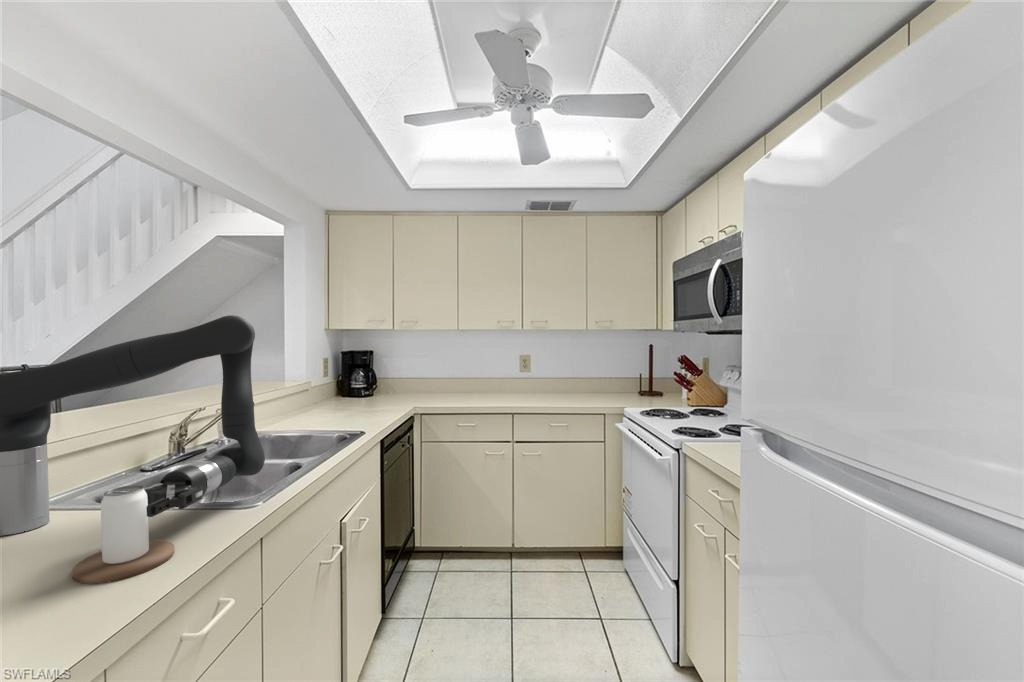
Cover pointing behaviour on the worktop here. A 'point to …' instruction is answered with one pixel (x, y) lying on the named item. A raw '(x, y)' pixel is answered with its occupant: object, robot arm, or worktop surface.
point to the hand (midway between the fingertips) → (125, 511)
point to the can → (124, 524)
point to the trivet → (99, 571)
